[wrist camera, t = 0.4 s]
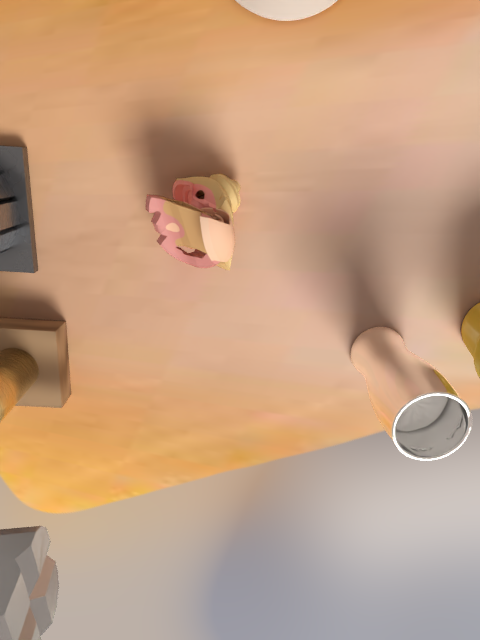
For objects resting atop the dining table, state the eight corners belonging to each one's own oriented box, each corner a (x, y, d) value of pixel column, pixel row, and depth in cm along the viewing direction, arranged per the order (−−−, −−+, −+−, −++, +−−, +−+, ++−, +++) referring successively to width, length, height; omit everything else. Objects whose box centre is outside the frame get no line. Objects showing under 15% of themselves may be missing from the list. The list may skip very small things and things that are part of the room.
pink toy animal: (200, 141, 43) (271, 169, 38) (221, 224, 51) (283, 258, 45) (123, 188, 40) (188, 227, 35) (157, 270, 48) (216, 312, 42)
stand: (-19, 316, 49) (-34, 326, 46) (65, 321, 49) (55, 331, 46) (-9, 390, 52) (-23, 403, 49) (71, 394, 52) (61, 407, 49)
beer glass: (333, 357, 51) (371, 436, 37) (374, 310, 49) (431, 374, 35) (379, 389, 52) (432, 476, 38) (421, 344, 50) (493, 419, 36)
